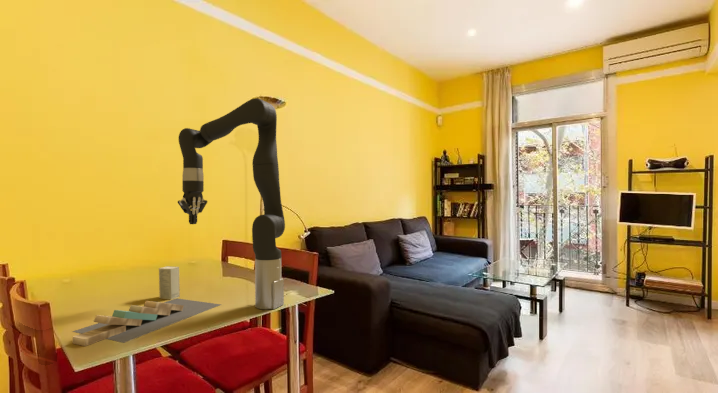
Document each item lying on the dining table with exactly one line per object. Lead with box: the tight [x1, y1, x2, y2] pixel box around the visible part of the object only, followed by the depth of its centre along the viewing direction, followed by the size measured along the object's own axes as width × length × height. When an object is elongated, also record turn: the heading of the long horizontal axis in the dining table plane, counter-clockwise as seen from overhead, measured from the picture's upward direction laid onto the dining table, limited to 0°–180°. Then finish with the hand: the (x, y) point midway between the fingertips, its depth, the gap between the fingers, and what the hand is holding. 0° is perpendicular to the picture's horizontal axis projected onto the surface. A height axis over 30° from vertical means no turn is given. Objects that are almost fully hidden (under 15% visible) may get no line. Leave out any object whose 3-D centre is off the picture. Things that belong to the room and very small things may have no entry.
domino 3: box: [111, 309, 157, 320], centre depth 107 cm, size 2×5×11 cm
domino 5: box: [143, 300, 184, 311], centre depth 117 cm, size 2×5×11 cm
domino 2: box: [93, 314, 142, 326], centre depth 102 cm, size 2×5×11 cm
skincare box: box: [158, 265, 181, 301], centre depth 137 cm, size 6×4×12 cm
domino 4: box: [128, 304, 171, 315], centre depth 112 cm, size 2×5×11 cm
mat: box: [71, 297, 222, 344], centre depth 114 cm, size 22×36×1 cm, turn 159°
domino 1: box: [71, 324, 126, 347], centre depth 98 cm, size 2×5×11 cm
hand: (193, 224), depth 138 cm, fingers closed
